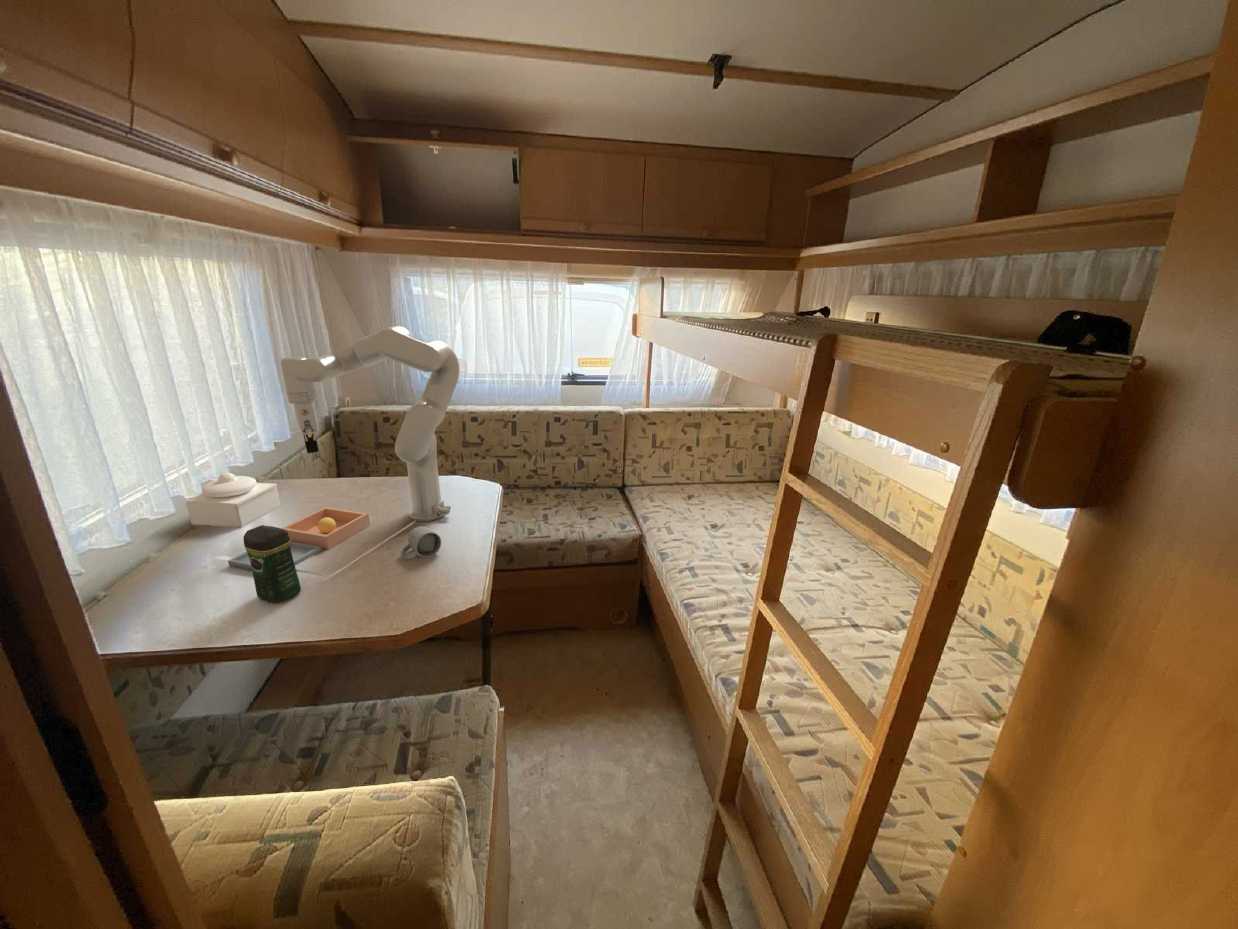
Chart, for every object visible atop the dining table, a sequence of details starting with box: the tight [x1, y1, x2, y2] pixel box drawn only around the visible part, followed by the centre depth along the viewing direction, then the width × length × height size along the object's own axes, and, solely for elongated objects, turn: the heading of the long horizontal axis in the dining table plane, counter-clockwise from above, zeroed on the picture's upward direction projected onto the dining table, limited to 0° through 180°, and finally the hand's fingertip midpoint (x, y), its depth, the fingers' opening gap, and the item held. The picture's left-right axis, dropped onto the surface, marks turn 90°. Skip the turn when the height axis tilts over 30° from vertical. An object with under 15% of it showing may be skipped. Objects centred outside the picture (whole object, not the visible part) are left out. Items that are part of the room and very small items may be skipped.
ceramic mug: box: [400, 525, 442, 561], centre depth 148 cm, size 11×8×8 cm
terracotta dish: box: [281, 506, 371, 550], centre depth 158 cm, size 17×17×5 cm
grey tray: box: [227, 541, 323, 572], centre depth 144 cm, size 18×14×2 cm
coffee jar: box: [243, 524, 302, 604], centre depth 125 cm, size 10×8×19 cm
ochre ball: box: [317, 517, 336, 533], centre depth 158 cm, size 5×5×5 cm
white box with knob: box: [185, 472, 281, 529], centre depth 169 cm, size 18×18×16 cm
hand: (312, 448), depth 164 cm, fingers open, 9 cm apart
